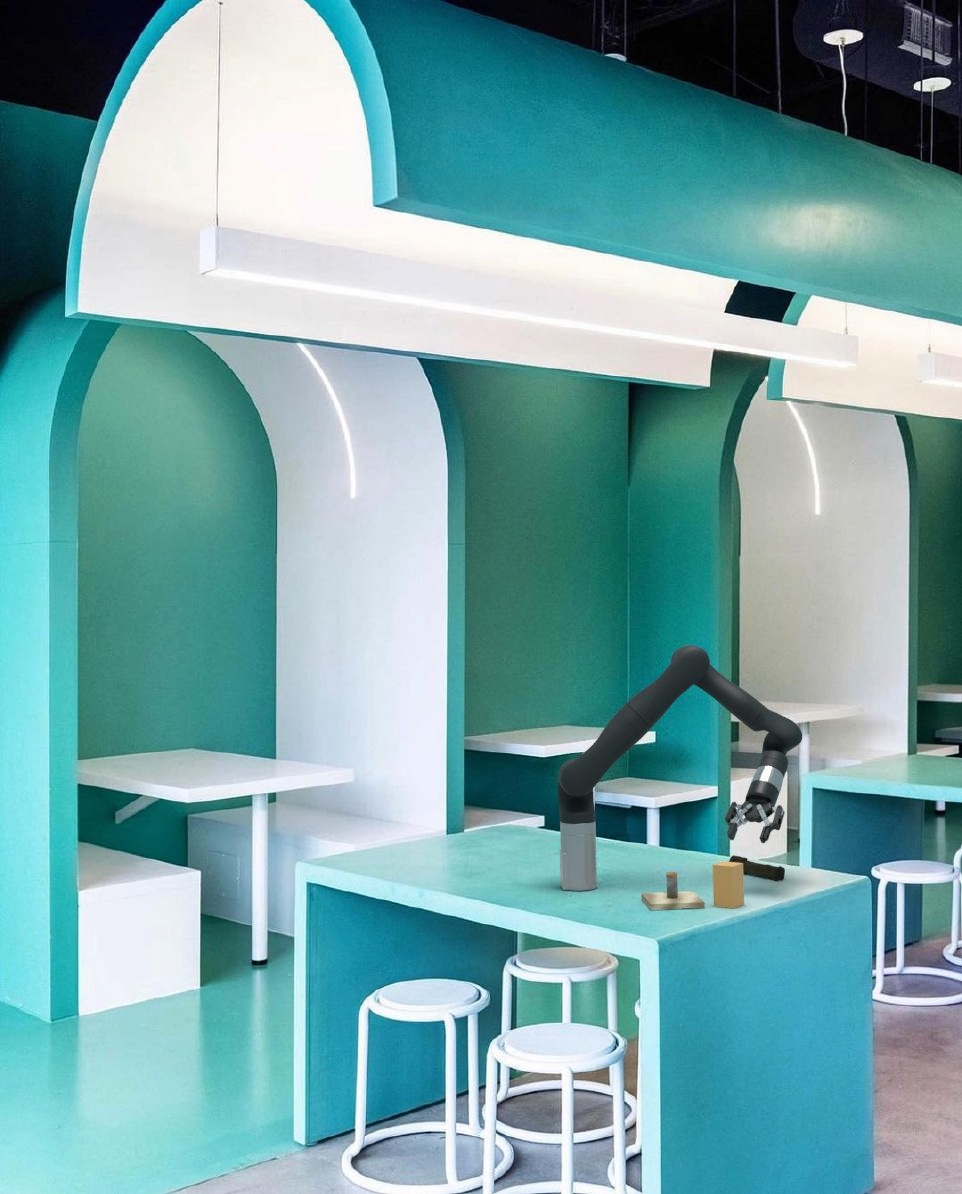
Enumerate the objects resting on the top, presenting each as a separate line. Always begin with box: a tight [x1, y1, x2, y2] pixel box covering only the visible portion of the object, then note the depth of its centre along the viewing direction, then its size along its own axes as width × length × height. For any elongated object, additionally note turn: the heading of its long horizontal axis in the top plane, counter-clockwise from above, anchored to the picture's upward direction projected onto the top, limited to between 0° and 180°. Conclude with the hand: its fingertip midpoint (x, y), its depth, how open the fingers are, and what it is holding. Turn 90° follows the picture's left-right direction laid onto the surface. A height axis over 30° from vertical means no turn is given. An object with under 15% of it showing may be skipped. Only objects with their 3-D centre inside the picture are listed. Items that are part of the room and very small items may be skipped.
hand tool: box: [728, 854, 786, 882], centre depth 371 cm, size 19×4×5 cm, turn 32°
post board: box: [641, 871, 706, 911], centre depth 338 cm, size 13×13×8 cm
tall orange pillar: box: [712, 860, 745, 909], centre depth 335 cm, size 5×5×10 cm
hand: (746, 839), depth 343 cm, fingers open, 8 cm apart
